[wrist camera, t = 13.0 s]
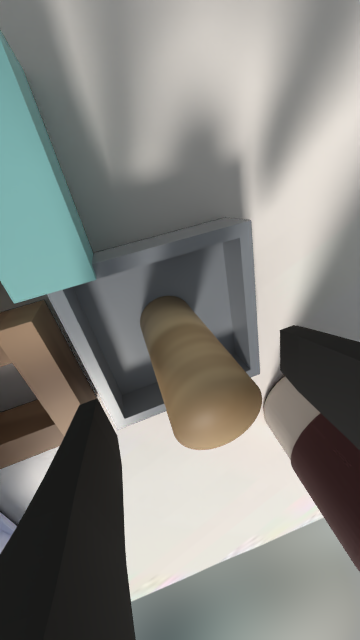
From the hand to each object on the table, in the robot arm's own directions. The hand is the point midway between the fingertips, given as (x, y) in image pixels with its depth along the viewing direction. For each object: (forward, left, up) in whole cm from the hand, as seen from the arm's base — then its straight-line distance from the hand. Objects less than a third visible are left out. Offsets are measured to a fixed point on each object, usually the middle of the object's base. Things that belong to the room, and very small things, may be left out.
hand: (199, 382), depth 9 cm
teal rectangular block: (+8, +4, -6) cm, 10 cm away
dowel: (0, 0, -5) cm, 5 cm away
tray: (0, 0, -6) cm, 6 cm away
